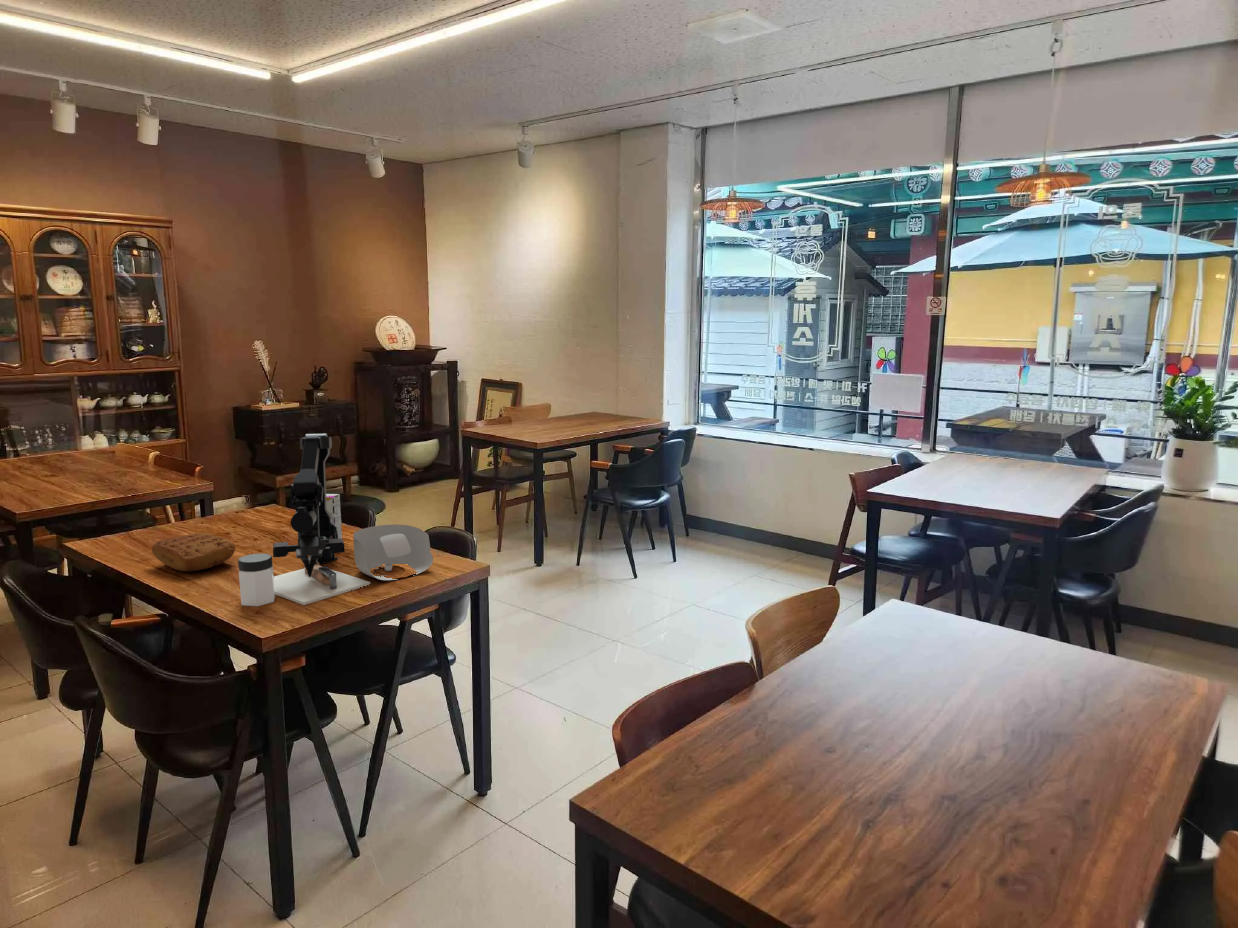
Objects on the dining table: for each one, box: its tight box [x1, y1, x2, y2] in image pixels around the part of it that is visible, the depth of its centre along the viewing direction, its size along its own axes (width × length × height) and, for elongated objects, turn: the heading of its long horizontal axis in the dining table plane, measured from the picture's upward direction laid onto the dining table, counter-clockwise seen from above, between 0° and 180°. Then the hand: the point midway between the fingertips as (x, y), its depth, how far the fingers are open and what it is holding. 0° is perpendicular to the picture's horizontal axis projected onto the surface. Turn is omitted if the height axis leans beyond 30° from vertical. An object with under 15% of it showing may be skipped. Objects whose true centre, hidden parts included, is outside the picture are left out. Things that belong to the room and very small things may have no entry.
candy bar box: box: [301, 493, 343, 540], centre depth 264 cm, size 11×5×16 cm, turn 84°
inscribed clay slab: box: [151, 532, 236, 572], centre depth 239 cm, size 22×17×8 cm
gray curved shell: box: [352, 524, 434, 581], centre depth 234 cm, size 20×19×12 cm
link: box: [304, 562, 330, 585], centre depth 226 cm, size 17×4×2 cm, turn 38°
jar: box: [237, 553, 276, 607], centre depth 208 cm, size 9×8×12 cm
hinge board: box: [273, 565, 371, 606], centre depth 222 cm, size 21×26×1 cm
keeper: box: [308, 557, 337, 590], centre depth 224 cm, size 3×21×4 cm, turn 40°
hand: (309, 576), depth 225 cm, fingers closed
